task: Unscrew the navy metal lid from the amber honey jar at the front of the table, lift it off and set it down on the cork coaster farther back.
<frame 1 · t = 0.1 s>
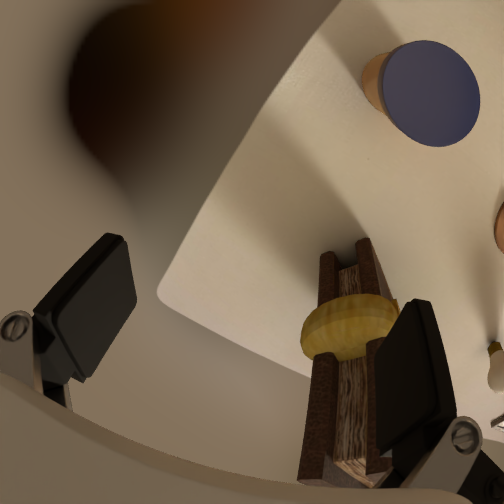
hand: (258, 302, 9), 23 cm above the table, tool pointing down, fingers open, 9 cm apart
lid: (433, 93, 14), point 11 cm above the table, screwed on, not yet turned
jar: (394, 84, 22), on the table
book: (366, 294, 37), on the table
light bulb: (492, 342, 37), on the table
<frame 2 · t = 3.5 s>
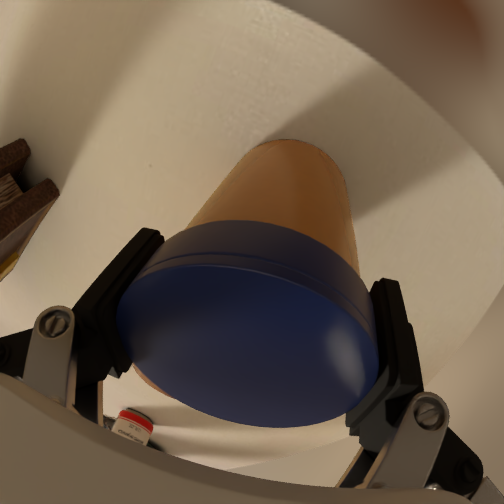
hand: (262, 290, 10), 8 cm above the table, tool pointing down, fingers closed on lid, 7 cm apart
lid: (241, 363, 8), point 11 cm above the table, screwed on, not yet turned, touching gripper
jar: (287, 196, 16), on the table
beer can: (138, 415, 43), on the table
book: (14, 212, 22), on the table
when the fingers open (7 cm above the table, at t = 5.9 s): lid stays where it is, point 11 cm above the table.
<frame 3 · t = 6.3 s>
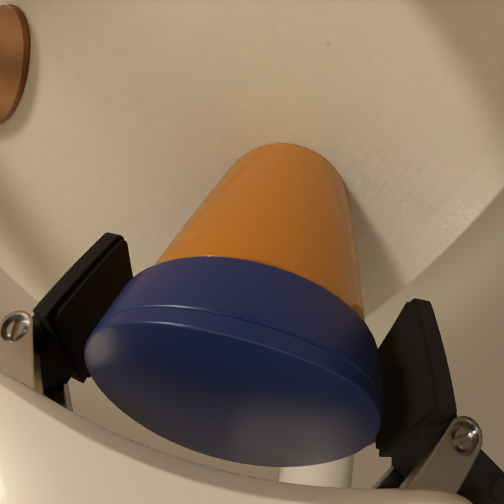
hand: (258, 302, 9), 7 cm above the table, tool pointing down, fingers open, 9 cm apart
lid: (225, 412, 6), point 11 cm above the table, turned 108° so far, risen 0.1 cm, still on its thread
jar: (283, 205, 15), on the table
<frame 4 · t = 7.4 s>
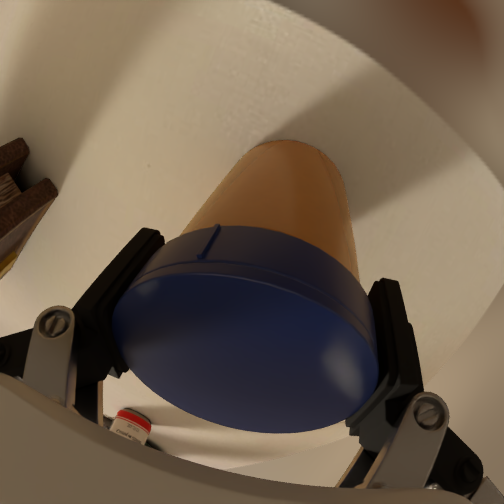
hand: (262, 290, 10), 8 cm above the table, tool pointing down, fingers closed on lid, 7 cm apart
lid: (239, 371, 7), point 11 cm above the table, turned 108° so far, risen 0.2 cm, still on its thread, touching gripper
jar: (286, 197, 16), on the table
beer can: (136, 415, 43), on the table
book: (13, 212, 22), on the table
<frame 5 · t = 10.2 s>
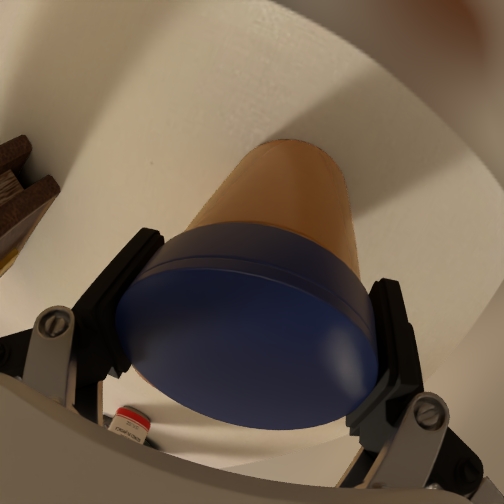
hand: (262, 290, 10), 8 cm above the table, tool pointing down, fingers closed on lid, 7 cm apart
lid: (240, 366, 7), point 11 cm above the table, turned 213° so far, risen 0.3 cm, still on its thread, touching gripper
jar: (288, 195, 16), on the table
beer can: (136, 413, 43), on the table
book: (15, 209, 22), on the table
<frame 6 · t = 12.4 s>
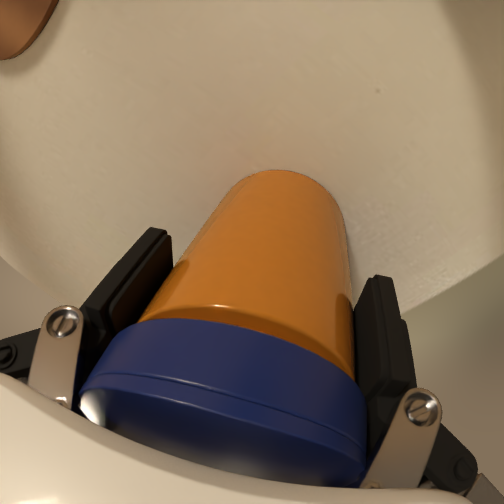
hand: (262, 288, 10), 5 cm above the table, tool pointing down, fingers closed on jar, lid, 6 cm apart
lid: (216, 455, 6), point 11 cm above the table, turned 320° so far, risen 0.4 cm, still on its thread, touching gripper
jar: (279, 231, 15), on the table, touching gripper
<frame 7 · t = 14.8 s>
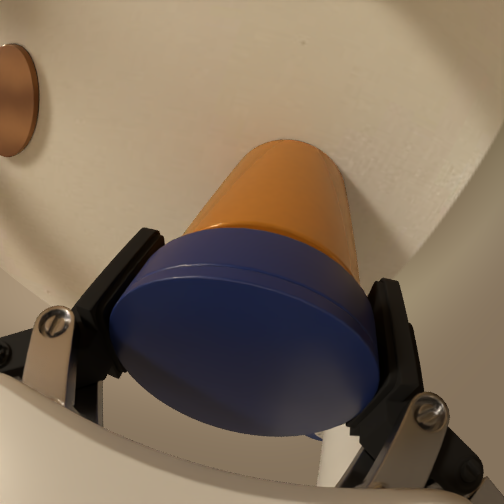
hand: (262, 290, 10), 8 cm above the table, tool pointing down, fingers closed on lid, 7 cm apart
lid: (238, 374, 7), point 11 cm above the table, off its thread, touching gripper
jar: (287, 195, 16), on the table
coaster: (6, 100, 15), on the table
when the fingers open (2 cm above the table, at t = 23.2 s): lid drops 3 cm, resting on coaster.
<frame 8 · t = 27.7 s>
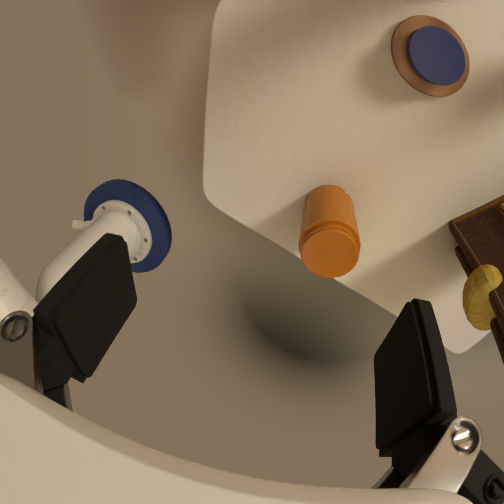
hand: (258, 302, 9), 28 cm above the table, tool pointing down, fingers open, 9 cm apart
lid: (437, 55, 22), point 2 cm above the table, off its thread, touching coaster
jar: (328, 208, 37), on the table
book: (497, 217, 32), on the table
coaster: (431, 55, 23), on the table
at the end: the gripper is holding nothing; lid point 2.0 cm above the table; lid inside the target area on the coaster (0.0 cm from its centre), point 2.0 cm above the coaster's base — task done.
